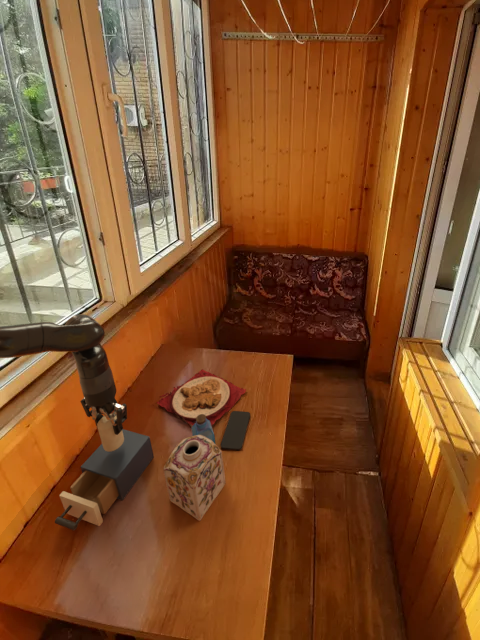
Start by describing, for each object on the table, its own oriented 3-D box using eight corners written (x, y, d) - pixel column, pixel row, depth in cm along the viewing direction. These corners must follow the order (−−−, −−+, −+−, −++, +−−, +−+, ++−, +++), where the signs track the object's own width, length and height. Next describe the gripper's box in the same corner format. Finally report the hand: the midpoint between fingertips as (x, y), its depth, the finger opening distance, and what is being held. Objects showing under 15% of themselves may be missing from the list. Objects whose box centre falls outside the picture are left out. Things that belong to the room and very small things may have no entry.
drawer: (85, 545, 78) (79, 526, 76) (51, 530, 81) (43, 512, 78) (133, 479, 93) (129, 462, 91) (103, 469, 96) (97, 452, 94)
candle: (128, 440, 93) (121, 415, 89) (110, 455, 88) (102, 429, 85) (117, 432, 96) (111, 407, 92) (99, 446, 91) (92, 420, 88)
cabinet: (122, 500, 89) (116, 478, 85) (87, 488, 92) (80, 466, 89) (154, 457, 101) (149, 436, 98) (122, 447, 104) (116, 427, 101)
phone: (219, 447, 103) (231, 410, 117) (219, 449, 103) (231, 412, 117) (241, 449, 102) (250, 412, 116) (241, 451, 102) (251, 413, 116)
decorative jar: (197, 465, 98) (191, 422, 92) (227, 483, 93) (222, 438, 87) (168, 502, 88) (158, 456, 82) (199, 523, 83) (191, 477, 77)
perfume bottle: (193, 441, 106) (189, 414, 102) (211, 434, 109) (208, 407, 104) (197, 456, 101) (193, 429, 97) (216, 448, 103) (212, 421, 99)
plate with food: (204, 436, 108) (203, 429, 107) (156, 404, 120) (155, 398, 119) (247, 393, 127) (247, 386, 126) (202, 369, 139) (201, 363, 138)
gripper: (64, 387, 83) (79, 434, 89) (108, 399, 79) (120, 447, 85) (88, 369, 90) (100, 414, 95) (129, 378, 86) (140, 424, 92)
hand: (110, 429), depth 90 cm, fingers closed on candle, 5 cm apart
